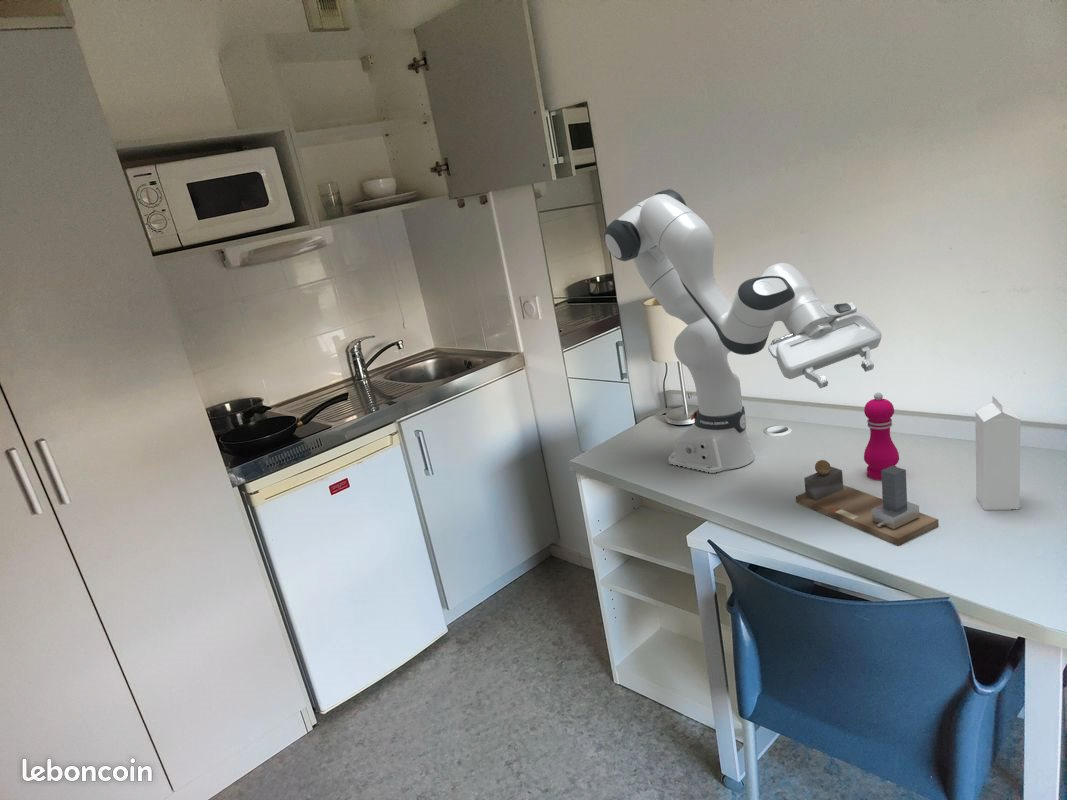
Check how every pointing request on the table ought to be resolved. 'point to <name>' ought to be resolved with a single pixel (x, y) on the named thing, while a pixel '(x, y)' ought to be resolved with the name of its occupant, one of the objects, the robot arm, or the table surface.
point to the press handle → (894, 500)
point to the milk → (997, 457)
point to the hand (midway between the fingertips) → (847, 377)
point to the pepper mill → (879, 437)
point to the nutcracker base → (855, 506)
